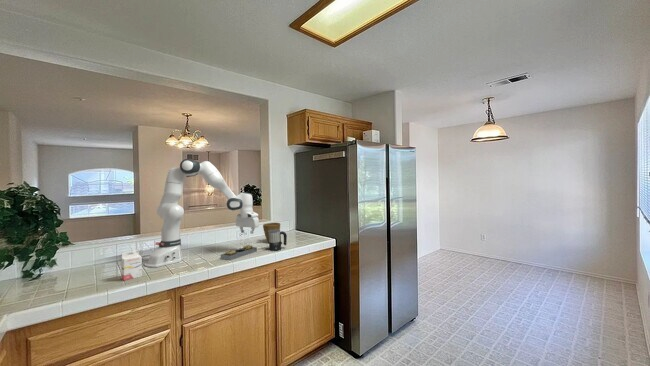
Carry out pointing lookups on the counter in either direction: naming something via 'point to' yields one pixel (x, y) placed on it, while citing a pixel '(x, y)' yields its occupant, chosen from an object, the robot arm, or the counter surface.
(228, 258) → the grey compartment tray
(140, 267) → the ink cartridge box
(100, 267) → the counter surface
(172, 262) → the robot arm
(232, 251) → the nut
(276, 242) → the milk frother
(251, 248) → the cage nut
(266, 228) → the plant pot
